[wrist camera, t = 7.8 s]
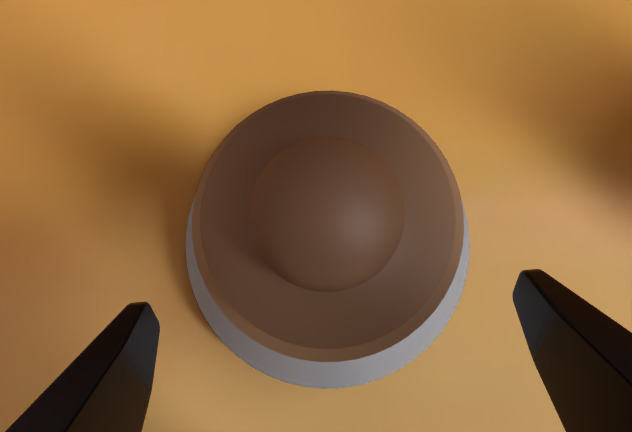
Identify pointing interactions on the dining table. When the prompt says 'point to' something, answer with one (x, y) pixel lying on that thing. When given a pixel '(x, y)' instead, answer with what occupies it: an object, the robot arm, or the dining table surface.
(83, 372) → the robot arm
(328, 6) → the dining table surface
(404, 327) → the wooden pepper mill
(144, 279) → the dining table surface
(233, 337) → the plate
